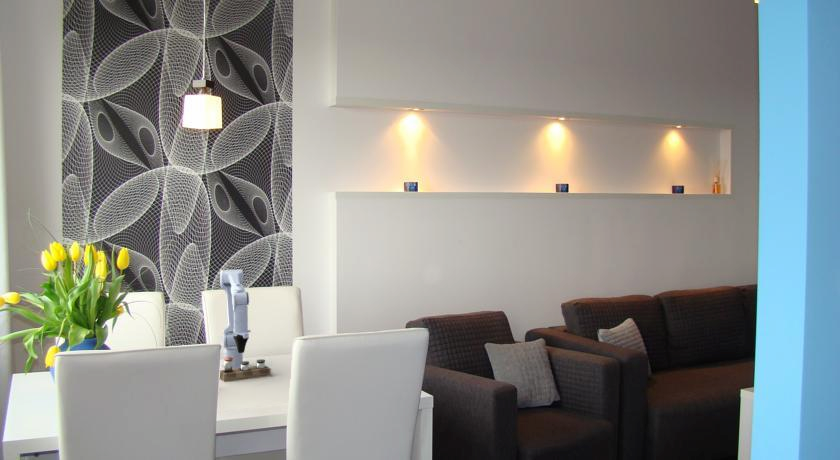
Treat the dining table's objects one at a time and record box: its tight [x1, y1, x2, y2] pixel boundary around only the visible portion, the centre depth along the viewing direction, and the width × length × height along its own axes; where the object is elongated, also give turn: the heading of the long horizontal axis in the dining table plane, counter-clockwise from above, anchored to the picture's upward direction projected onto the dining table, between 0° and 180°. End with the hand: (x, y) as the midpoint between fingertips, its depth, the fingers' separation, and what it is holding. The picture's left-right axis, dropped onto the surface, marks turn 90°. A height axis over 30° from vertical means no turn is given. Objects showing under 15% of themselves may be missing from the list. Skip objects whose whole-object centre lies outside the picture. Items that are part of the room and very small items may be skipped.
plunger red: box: [223, 357, 233, 372], centre depth 306 cm, size 4×4×6 cm
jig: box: [219, 365, 272, 382], centre depth 309 cm, size 8×20×3 cm, turn 121°
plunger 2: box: [256, 358, 266, 369], centre depth 313 cm, size 4×4×6 cm
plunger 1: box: [241, 360, 250, 371], centre depth 309 cm, size 4×4×6 cm
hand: (241, 352), depth 308 cm, fingers closed
